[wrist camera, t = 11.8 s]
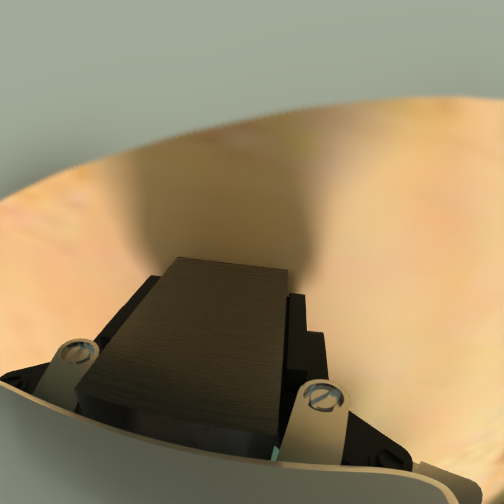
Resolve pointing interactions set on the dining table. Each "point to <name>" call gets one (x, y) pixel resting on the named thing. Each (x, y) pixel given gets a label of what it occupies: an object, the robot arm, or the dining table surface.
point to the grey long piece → (197, 361)
